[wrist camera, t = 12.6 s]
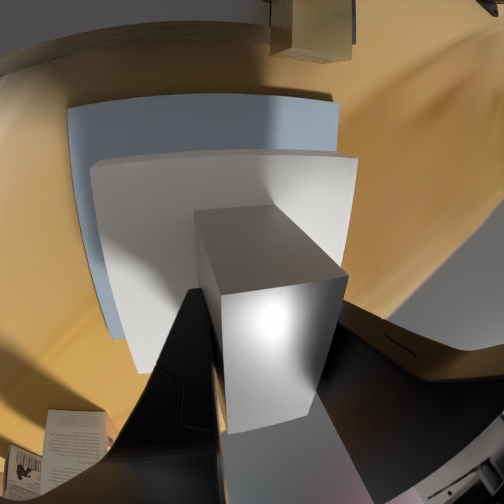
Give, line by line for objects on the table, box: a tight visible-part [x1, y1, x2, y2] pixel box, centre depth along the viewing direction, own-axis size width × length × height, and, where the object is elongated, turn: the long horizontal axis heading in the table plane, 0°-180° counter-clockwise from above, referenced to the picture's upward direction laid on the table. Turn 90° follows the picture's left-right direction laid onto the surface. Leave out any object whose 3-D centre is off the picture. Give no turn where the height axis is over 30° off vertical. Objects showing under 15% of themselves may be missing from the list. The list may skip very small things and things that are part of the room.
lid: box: [90, 149, 358, 434], centre depth 8 cm, size 8×8×5 cm
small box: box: [40, 409, 119, 495], centre depth 15 cm, size 8×6×10 cm
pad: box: [67, 93, 340, 339], centre depth 13 cm, size 12×12×1 cm
